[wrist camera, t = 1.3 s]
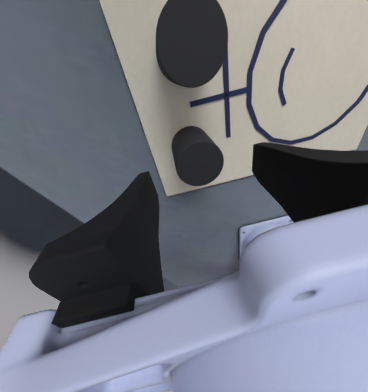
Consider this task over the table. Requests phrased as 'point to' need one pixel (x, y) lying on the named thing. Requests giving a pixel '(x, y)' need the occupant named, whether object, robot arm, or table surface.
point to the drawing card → (253, 80)
